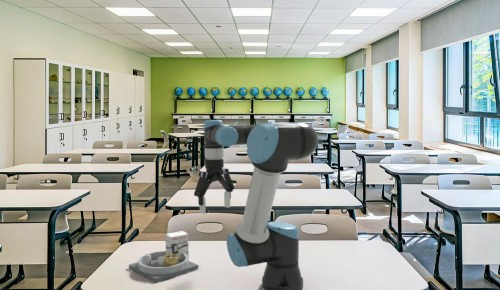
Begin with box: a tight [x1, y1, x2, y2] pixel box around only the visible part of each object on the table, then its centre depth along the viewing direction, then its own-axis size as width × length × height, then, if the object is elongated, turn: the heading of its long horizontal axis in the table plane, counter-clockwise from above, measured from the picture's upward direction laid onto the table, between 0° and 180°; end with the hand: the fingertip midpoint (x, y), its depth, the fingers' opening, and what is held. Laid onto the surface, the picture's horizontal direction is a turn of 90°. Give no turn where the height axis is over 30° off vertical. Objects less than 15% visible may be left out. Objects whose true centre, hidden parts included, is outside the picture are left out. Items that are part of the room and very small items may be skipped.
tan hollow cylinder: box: [164, 254, 178, 267], centre depth 183 cm, size 5×5×5 cm
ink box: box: [165, 230, 190, 261], centre depth 195 cm, size 8×5×12 cm, turn 123°
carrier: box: [128, 250, 199, 284], centre depth 187 cm, size 20×20×6 cm
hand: (215, 210), depth 189 cm, fingers open, 13 cm apart
